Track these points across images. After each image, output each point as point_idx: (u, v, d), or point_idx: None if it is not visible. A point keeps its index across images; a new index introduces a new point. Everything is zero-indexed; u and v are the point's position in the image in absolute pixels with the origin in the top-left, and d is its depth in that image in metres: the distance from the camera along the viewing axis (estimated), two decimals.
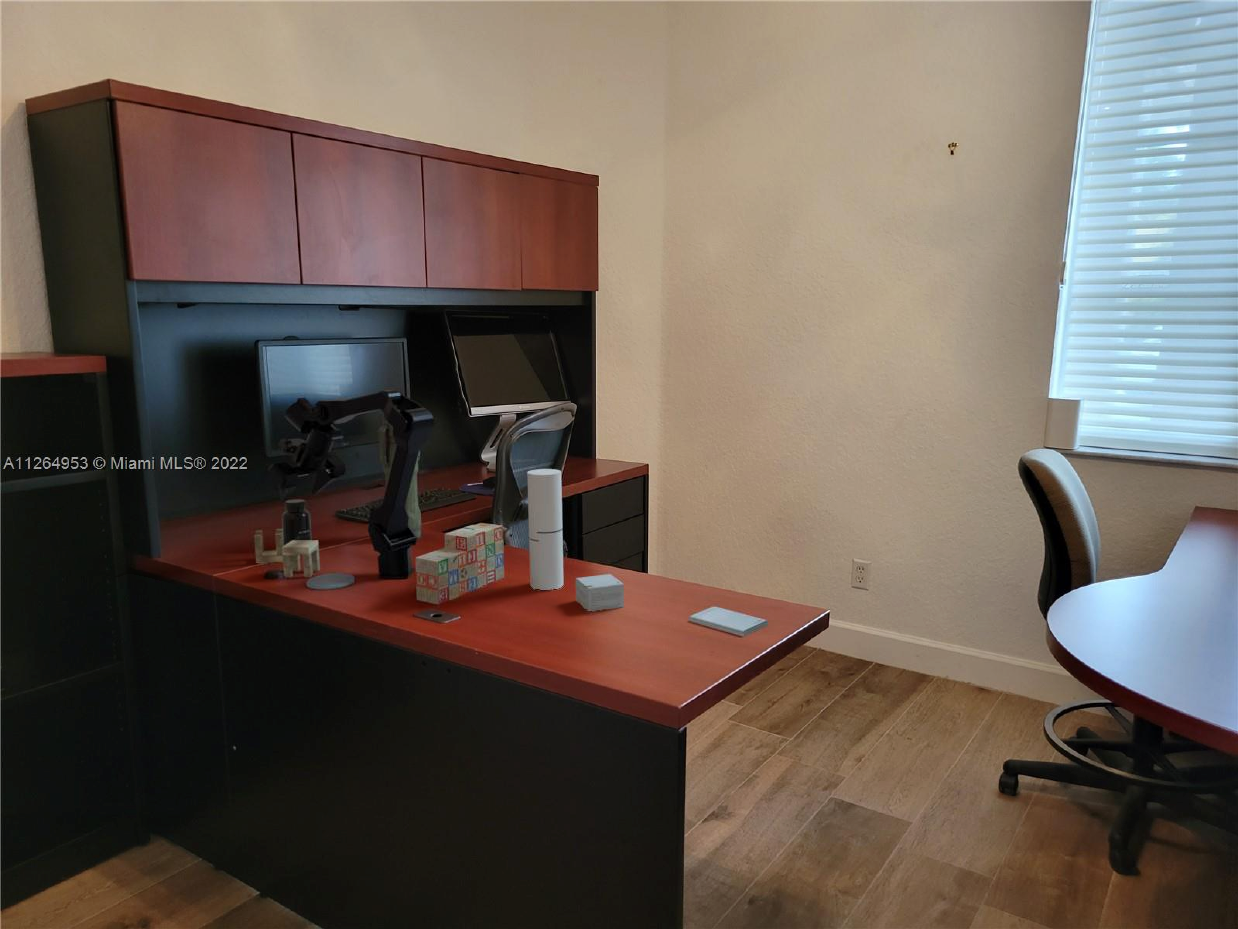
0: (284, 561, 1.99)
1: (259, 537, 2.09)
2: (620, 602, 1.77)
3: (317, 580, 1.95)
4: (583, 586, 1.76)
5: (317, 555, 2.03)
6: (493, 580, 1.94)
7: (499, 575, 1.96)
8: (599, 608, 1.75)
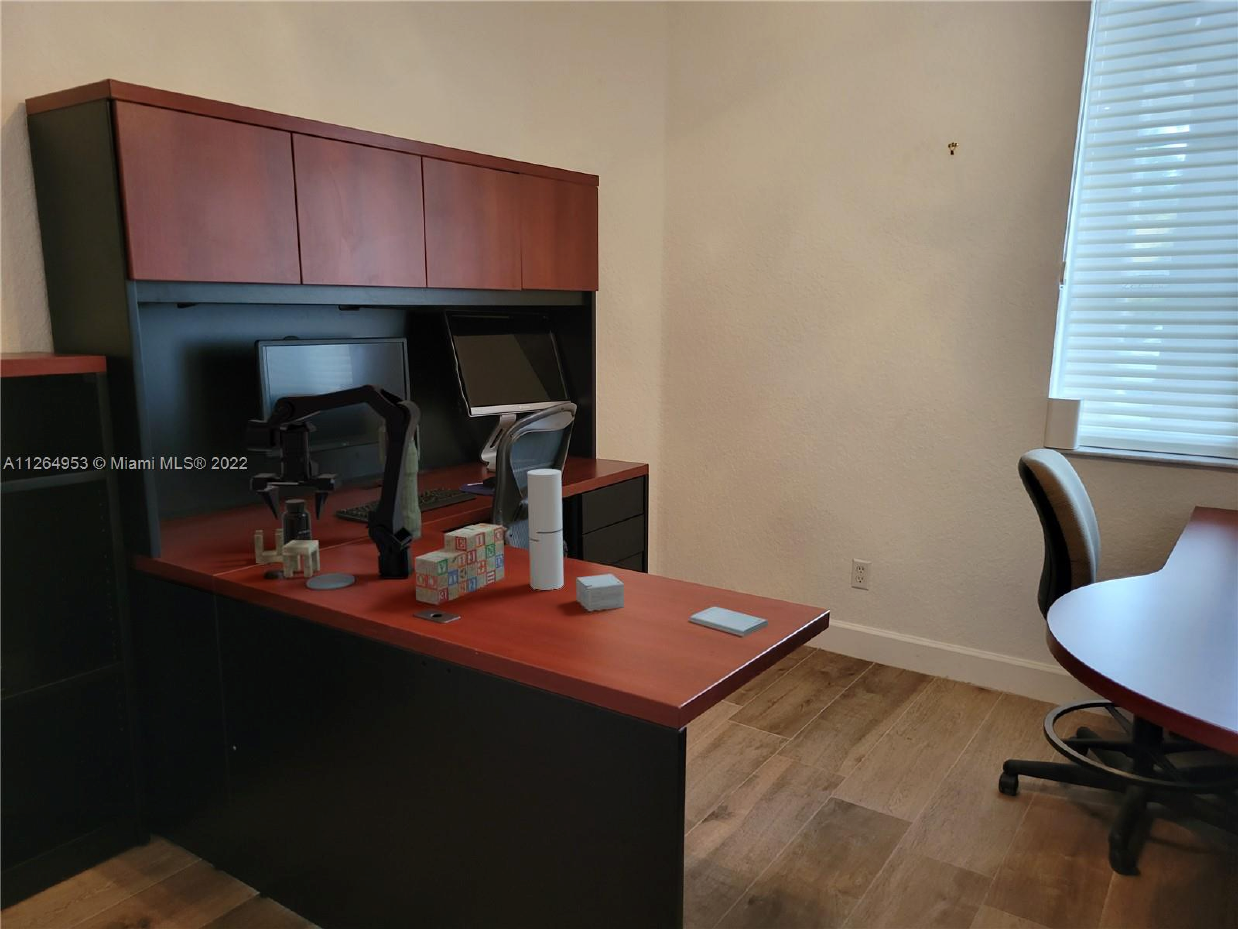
0: (284, 561, 1.99)
1: (259, 537, 2.09)
2: (620, 602, 1.77)
3: (317, 580, 1.95)
4: (583, 586, 1.76)
5: (317, 555, 2.03)
6: (493, 580, 1.94)
7: (499, 576, 1.96)
8: (599, 608, 1.75)
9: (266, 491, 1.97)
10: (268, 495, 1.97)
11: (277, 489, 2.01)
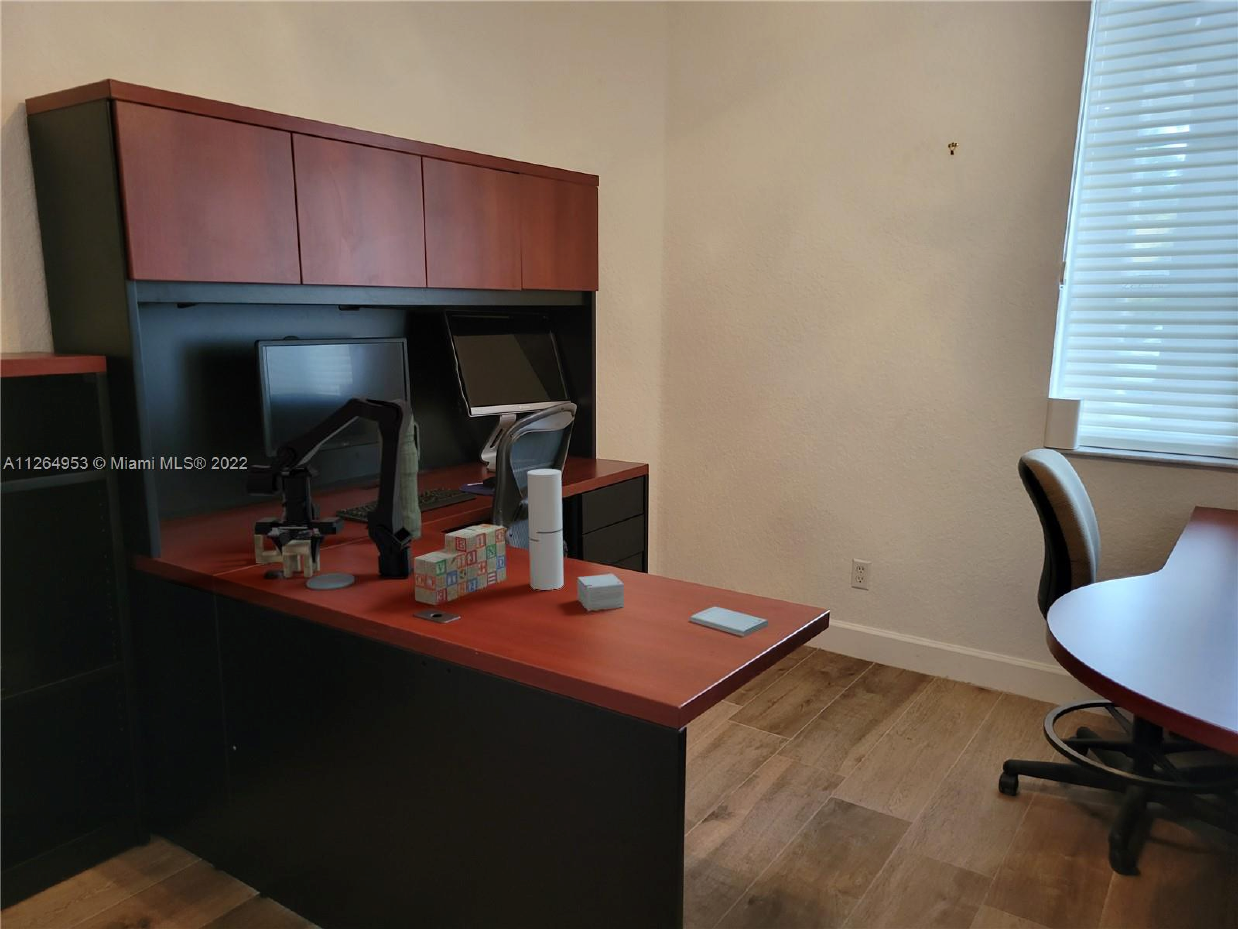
0: (284, 561, 1.99)
1: (259, 537, 2.09)
2: (620, 602, 1.77)
3: (317, 580, 1.95)
4: (583, 585, 1.77)
5: None
6: (494, 581, 1.93)
7: (501, 577, 1.95)
8: (598, 608, 1.76)
9: (276, 536, 1.98)
10: (278, 540, 1.98)
11: (287, 533, 2.03)
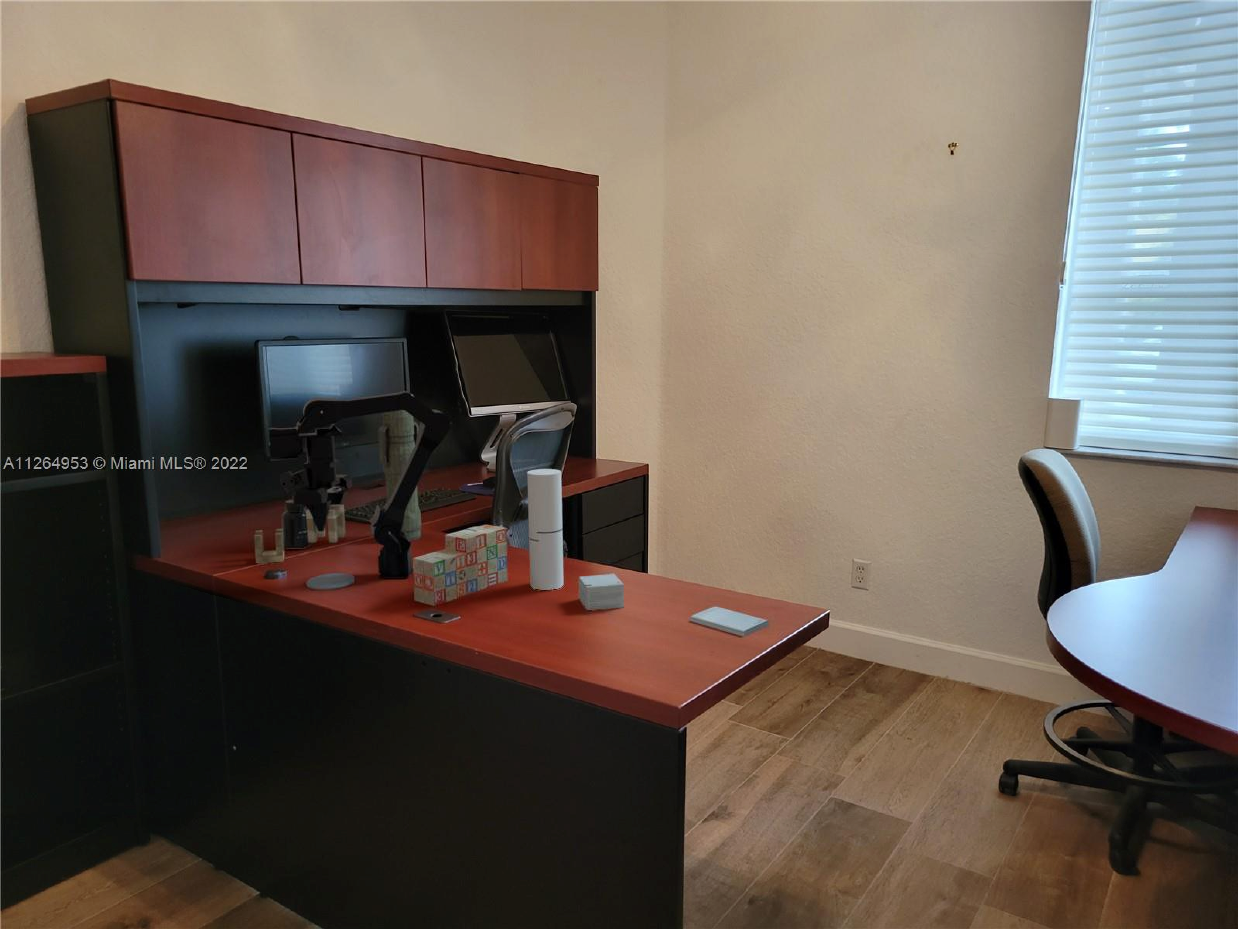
0: (334, 525, 1.90)
1: (259, 537, 2.09)
2: (620, 602, 1.77)
3: (317, 580, 1.95)
4: (583, 585, 1.77)
5: None
6: (495, 582, 1.93)
7: (502, 578, 1.94)
8: (598, 607, 1.76)
9: (328, 500, 1.88)
10: (330, 504, 1.88)
11: None
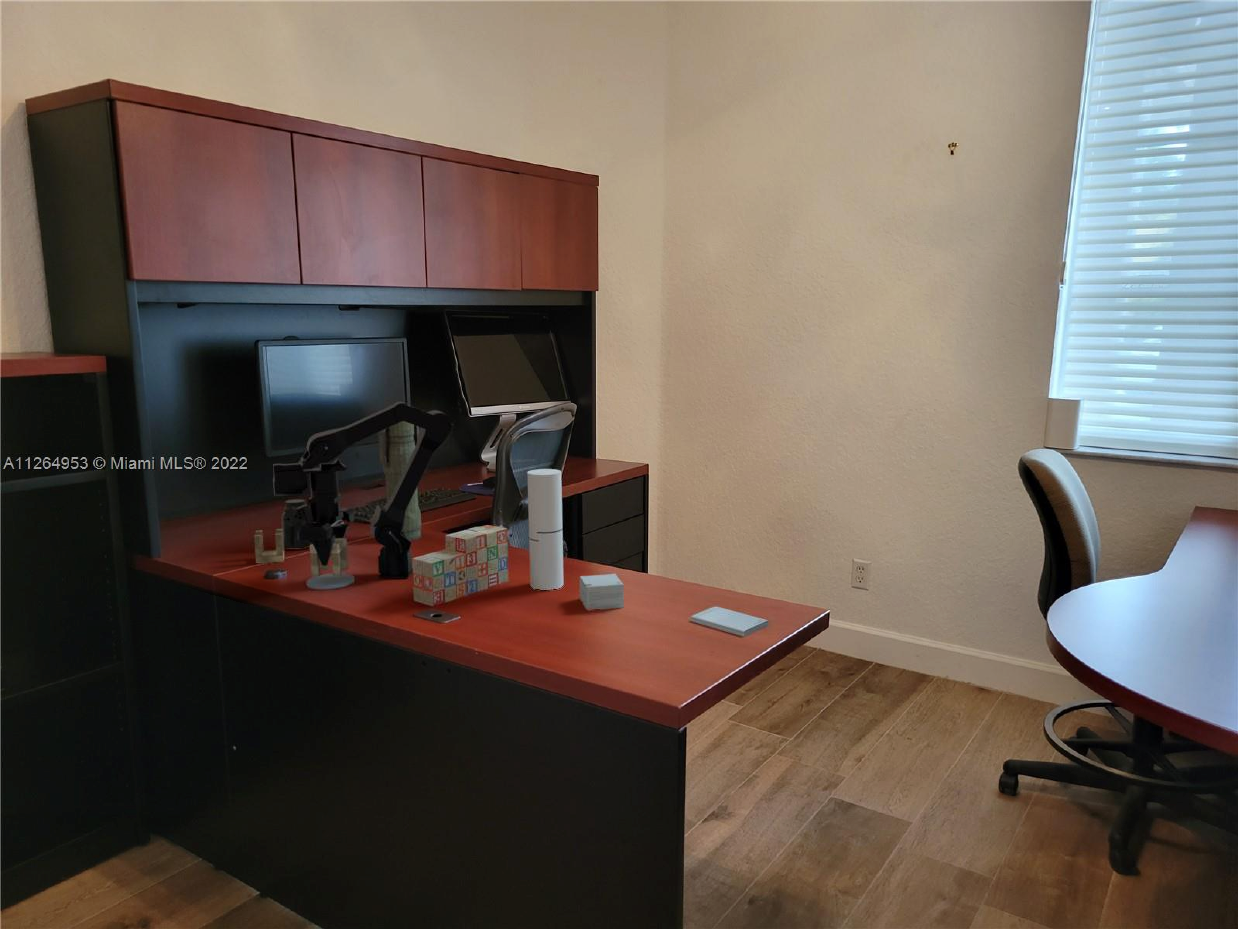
0: (338, 559, 1.91)
1: (259, 537, 2.09)
2: (620, 602, 1.77)
3: (317, 580, 1.95)
4: (583, 584, 1.77)
5: None
6: (496, 583, 1.92)
7: (502, 579, 1.93)
8: (598, 607, 1.76)
9: (332, 535, 1.89)
10: None
11: None
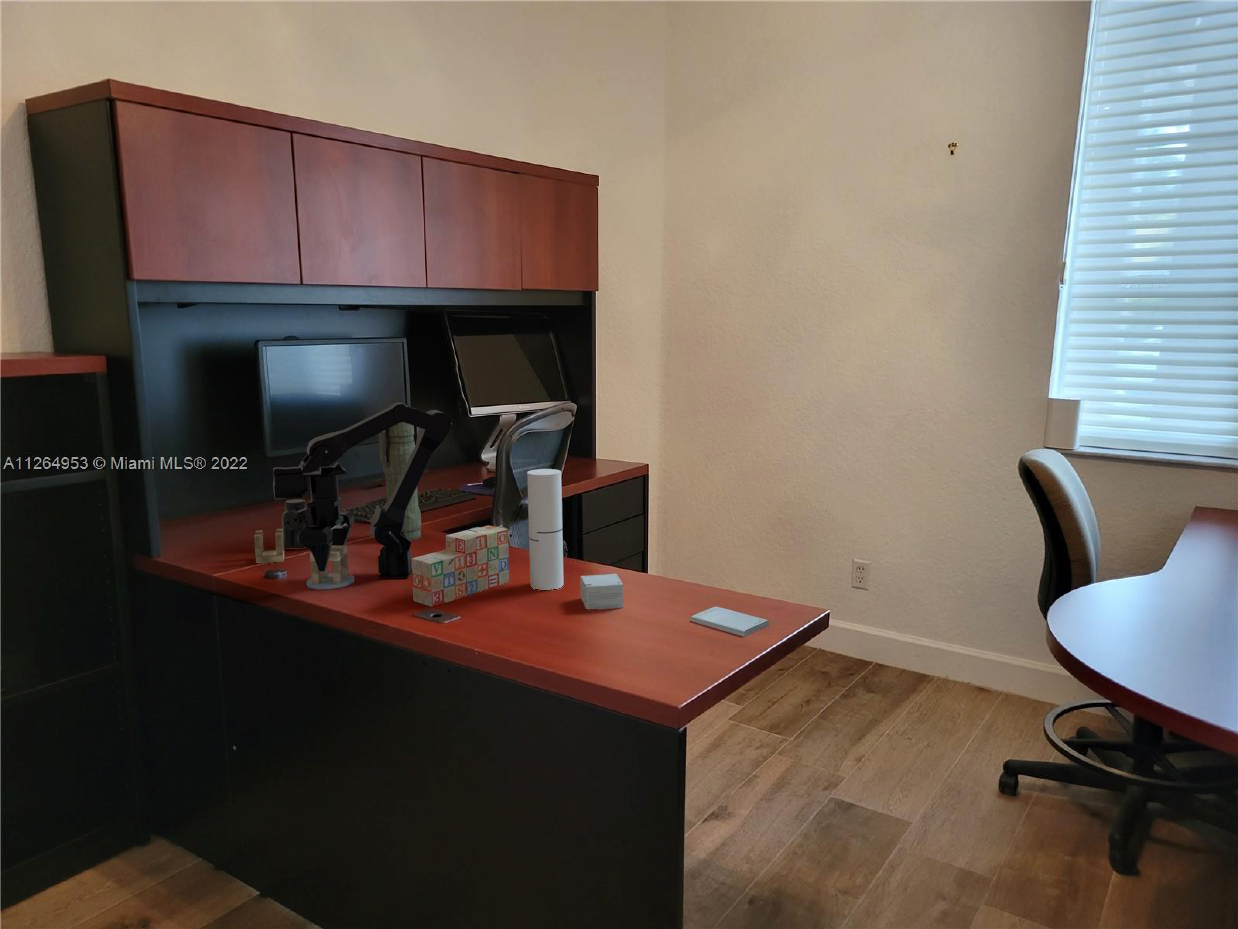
0: (339, 567, 1.92)
1: (259, 537, 2.09)
2: (619, 602, 1.77)
3: None
4: (583, 584, 1.77)
5: None
6: (496, 584, 1.91)
7: (503, 579, 1.93)
8: (597, 607, 1.76)
9: (329, 541, 1.87)
10: (331, 544, 1.88)
11: None
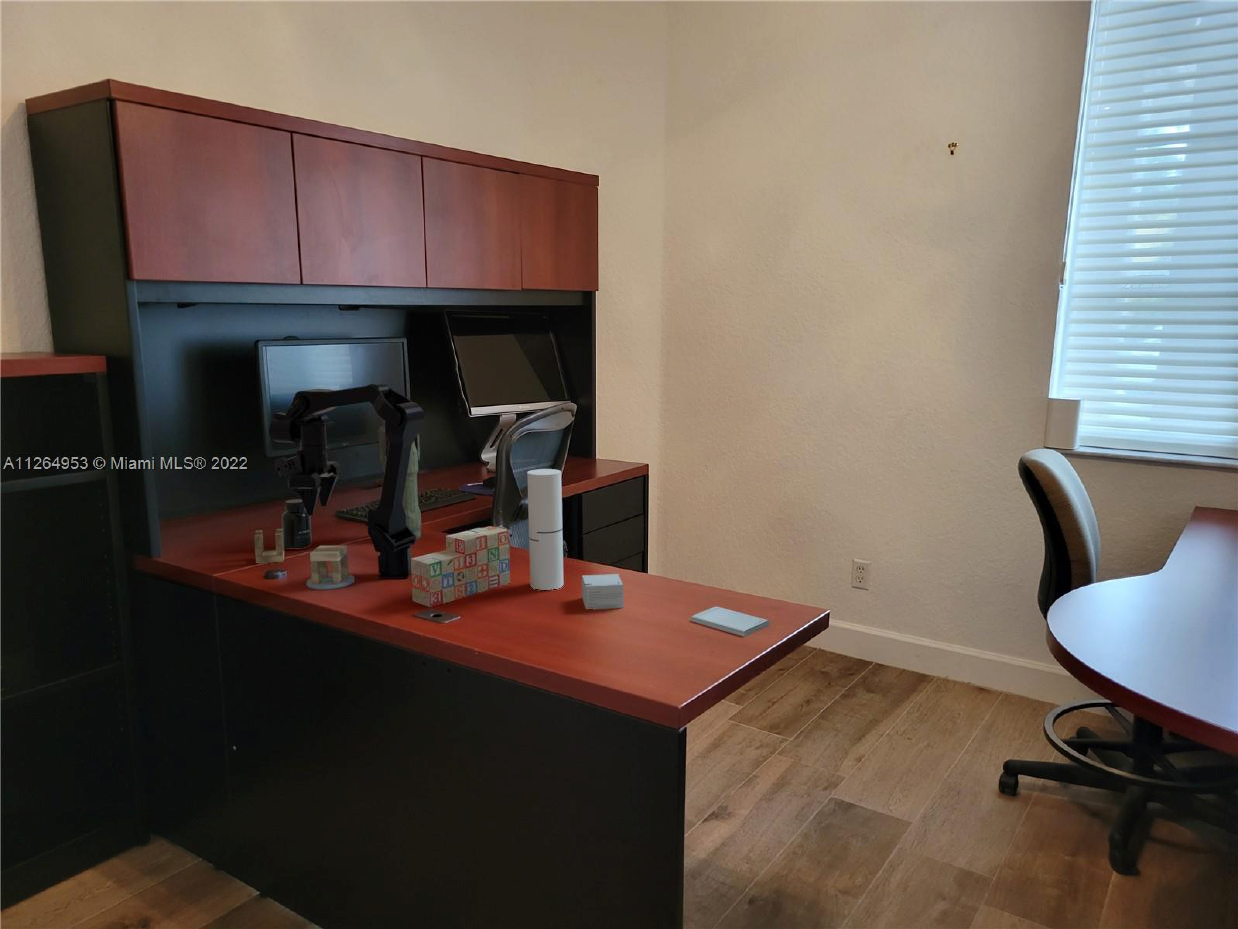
0: (339, 567, 1.92)
1: (259, 537, 2.09)
2: (619, 602, 1.77)
3: None
4: (583, 584, 1.78)
5: None
6: (497, 585, 1.91)
7: (504, 580, 1.92)
8: (597, 607, 1.76)
9: (318, 486, 1.99)
10: (319, 489, 2.00)
11: None
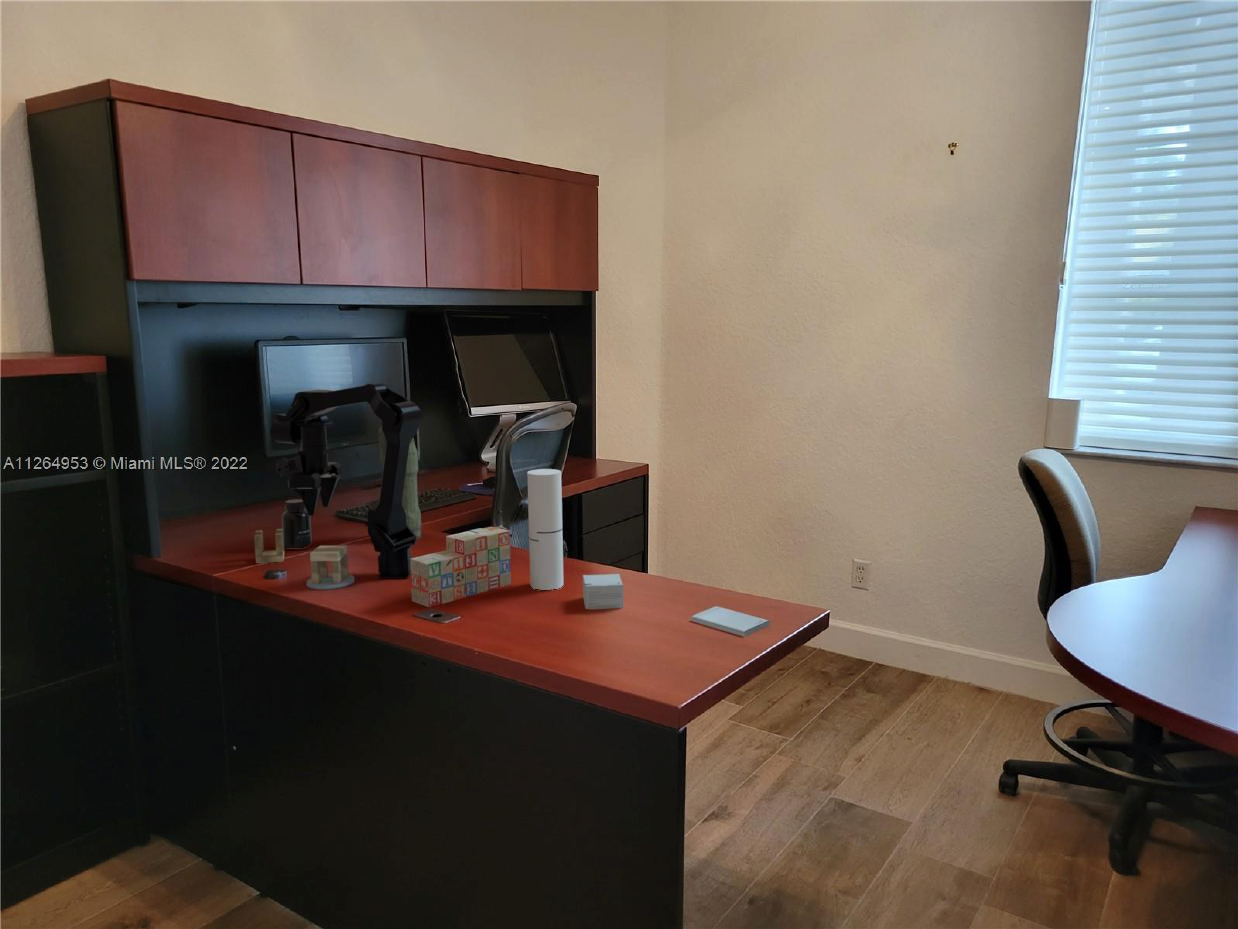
0: (339, 567, 1.92)
1: (259, 537, 2.09)
2: (619, 603, 1.76)
3: None
4: (584, 583, 1.78)
5: None
6: (497, 586, 1.90)
7: (504, 581, 1.92)
8: (597, 607, 1.76)
9: (318, 486, 2.00)
10: (320, 490, 2.01)
11: None
